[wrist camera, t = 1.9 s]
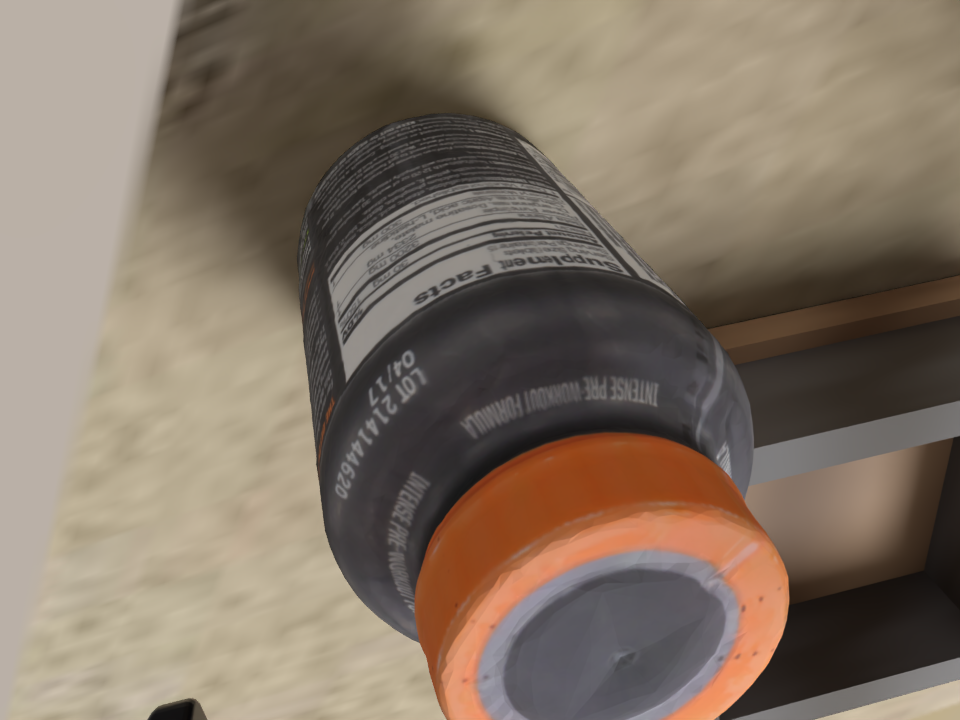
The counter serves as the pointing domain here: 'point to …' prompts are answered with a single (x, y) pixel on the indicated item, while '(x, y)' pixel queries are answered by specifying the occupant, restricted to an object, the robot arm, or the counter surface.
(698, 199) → the counter surface
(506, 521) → the pill bottle
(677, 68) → the counter surface
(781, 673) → the holder
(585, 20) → the counter surface
